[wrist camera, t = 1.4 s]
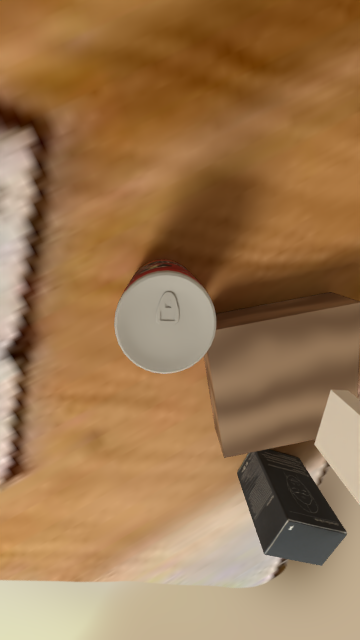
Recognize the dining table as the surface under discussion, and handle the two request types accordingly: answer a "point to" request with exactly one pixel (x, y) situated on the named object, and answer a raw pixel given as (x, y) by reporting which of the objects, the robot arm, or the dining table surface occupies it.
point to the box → (288, 508)
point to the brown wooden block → (280, 369)
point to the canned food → (165, 318)
